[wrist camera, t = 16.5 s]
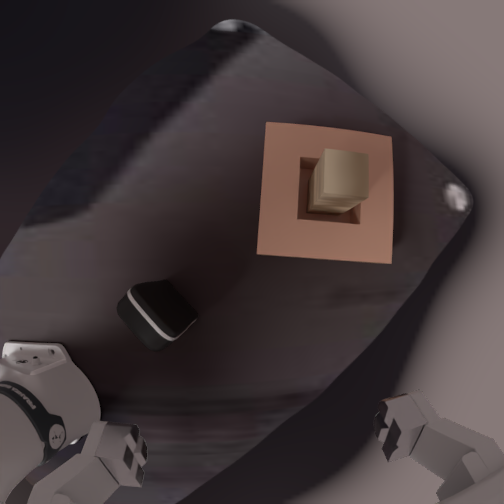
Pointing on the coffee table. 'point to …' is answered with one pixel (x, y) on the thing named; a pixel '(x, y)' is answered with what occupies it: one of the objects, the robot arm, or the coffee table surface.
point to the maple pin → (338, 182)
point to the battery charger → (156, 313)
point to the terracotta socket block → (296, 188)
